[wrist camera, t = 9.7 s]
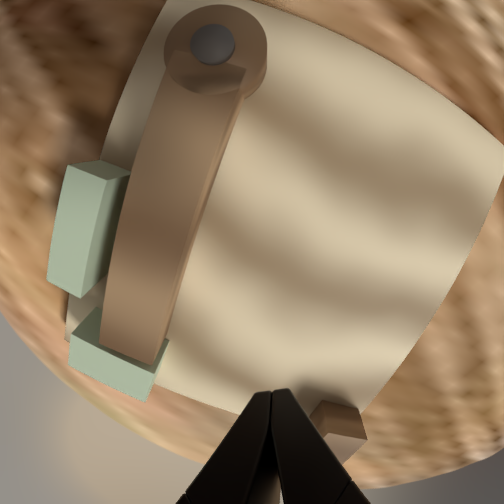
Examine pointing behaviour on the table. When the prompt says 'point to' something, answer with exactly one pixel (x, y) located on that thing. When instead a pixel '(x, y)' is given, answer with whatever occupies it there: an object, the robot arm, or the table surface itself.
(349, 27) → the table surface
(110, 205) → the socket blocks
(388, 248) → the board
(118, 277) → the hinged leg
